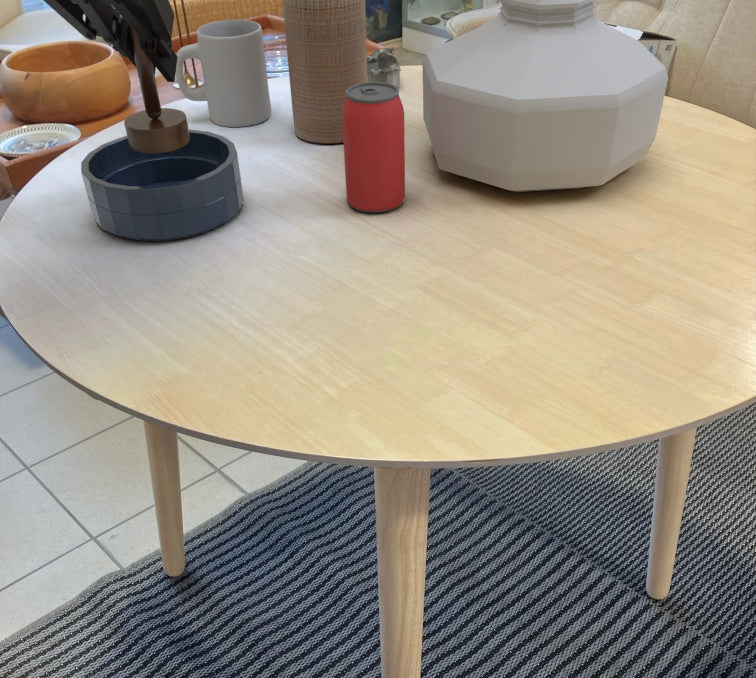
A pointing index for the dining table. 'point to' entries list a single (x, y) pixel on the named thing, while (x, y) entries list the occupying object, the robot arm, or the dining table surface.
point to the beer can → (374, 147)
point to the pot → (542, 98)
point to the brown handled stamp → (153, 112)
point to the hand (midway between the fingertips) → (162, 68)
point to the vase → (323, 63)
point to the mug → (229, 72)
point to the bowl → (163, 188)
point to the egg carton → (383, 67)
